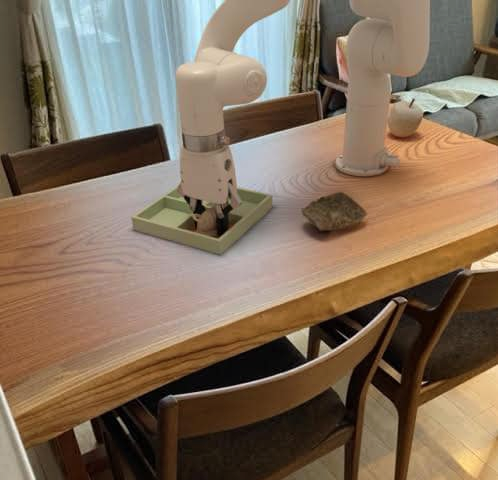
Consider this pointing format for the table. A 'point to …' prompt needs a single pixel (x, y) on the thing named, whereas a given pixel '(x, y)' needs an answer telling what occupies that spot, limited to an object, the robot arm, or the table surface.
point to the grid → (182, 223)
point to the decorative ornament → (207, 222)
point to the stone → (334, 212)
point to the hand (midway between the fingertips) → (211, 228)
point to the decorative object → (404, 118)
